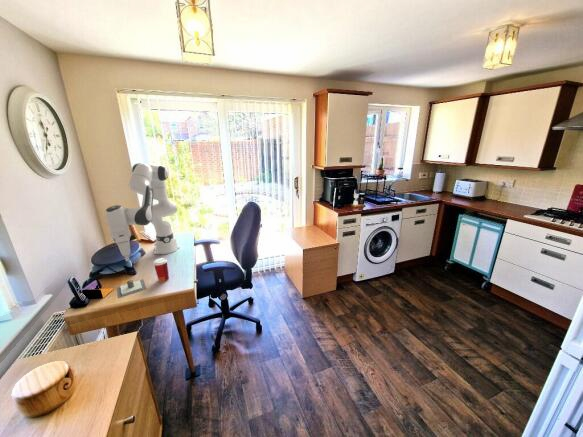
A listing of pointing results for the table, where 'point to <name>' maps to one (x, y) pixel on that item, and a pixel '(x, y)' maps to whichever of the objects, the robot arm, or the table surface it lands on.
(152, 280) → the table surface
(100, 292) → the miniature room corner
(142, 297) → the table surface
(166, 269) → the paper cup
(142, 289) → the mat
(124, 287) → the lid
